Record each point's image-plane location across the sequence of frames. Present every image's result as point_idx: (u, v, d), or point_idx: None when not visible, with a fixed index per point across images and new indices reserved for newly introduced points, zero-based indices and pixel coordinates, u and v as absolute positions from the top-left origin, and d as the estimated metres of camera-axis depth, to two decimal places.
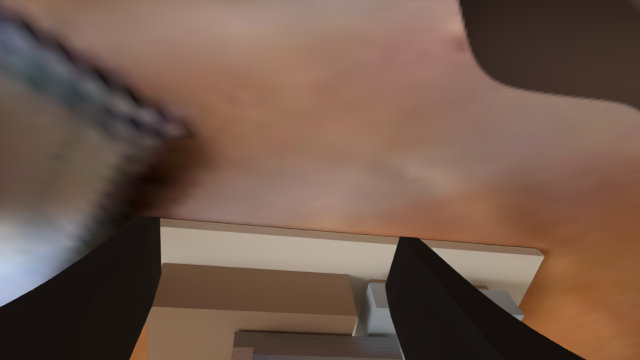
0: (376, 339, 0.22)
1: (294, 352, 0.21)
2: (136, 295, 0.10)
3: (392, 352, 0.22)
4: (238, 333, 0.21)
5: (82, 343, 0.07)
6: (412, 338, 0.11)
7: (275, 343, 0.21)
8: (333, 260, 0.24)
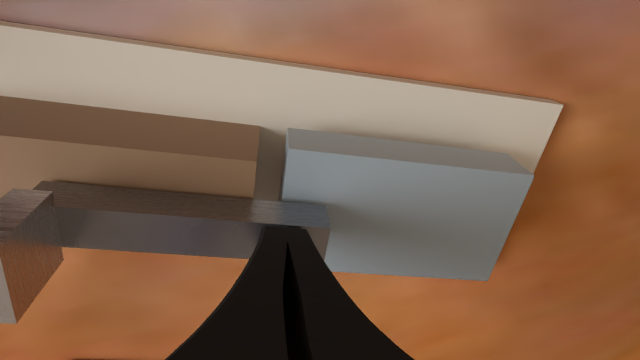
0: (292, 205, 0.13)
1: (137, 209, 0.12)
2: None
3: (314, 220, 0.13)
4: (47, 182, 0.12)
5: None
6: None
7: (108, 198, 0.12)
8: (234, 98, 0.15)
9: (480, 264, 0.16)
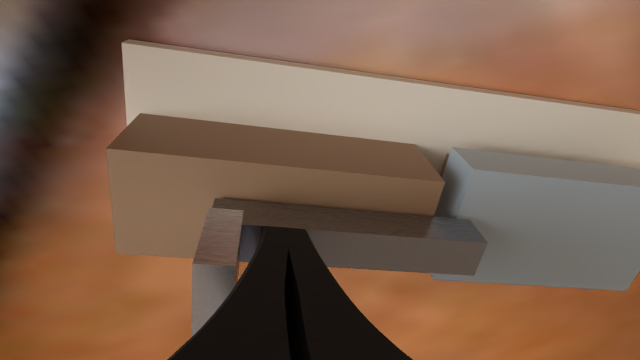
0: (440, 220, 0.14)
1: (312, 226, 0.12)
2: None
3: (469, 234, 0.13)
4: (220, 200, 0.13)
5: None
6: None
7: (281, 215, 0.13)
8: (396, 118, 0.16)
9: (623, 275, 0.17)
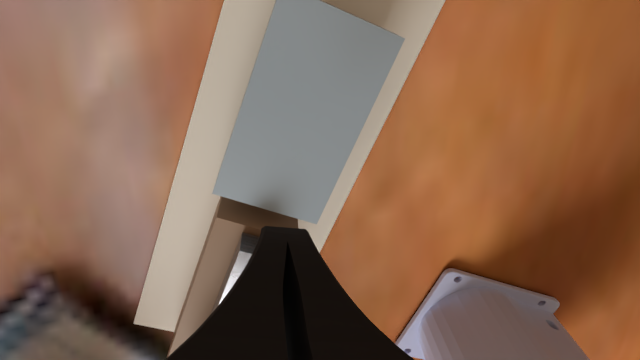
0: (234, 254, 0.19)
1: None
2: None
3: (236, 254, 0.18)
4: None
5: None
6: None
7: None
8: (200, 193, 0.21)
9: (378, 46, 0.15)
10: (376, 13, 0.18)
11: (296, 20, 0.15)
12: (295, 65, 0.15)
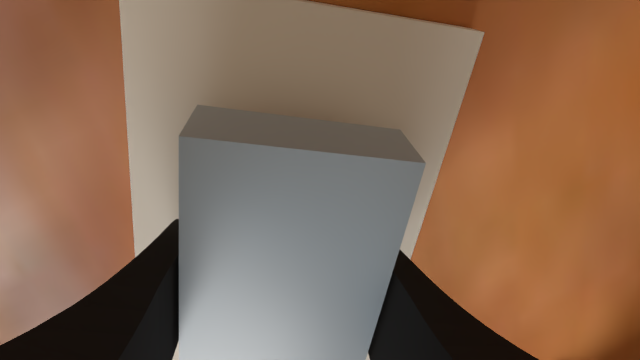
0: None
1: None
2: None
3: None
4: None
5: (143, 345, 0.07)
6: (375, 336, 0.11)
7: None
8: None
9: (381, 185, 0.09)
10: (369, 96, 0.11)
11: (224, 183, 0.08)
12: (245, 245, 0.09)
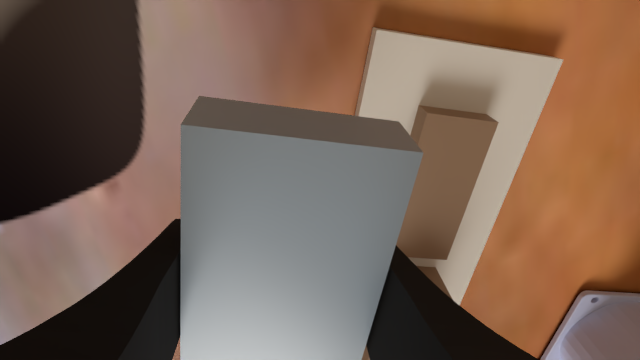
0: None
1: None
2: (179, 297, 0.10)
3: None
4: None
5: (143, 345, 0.07)
6: (375, 336, 0.11)
7: None
8: None
9: (379, 174, 0.09)
10: (495, 95, 0.19)
11: (225, 172, 0.08)
12: (246, 234, 0.09)
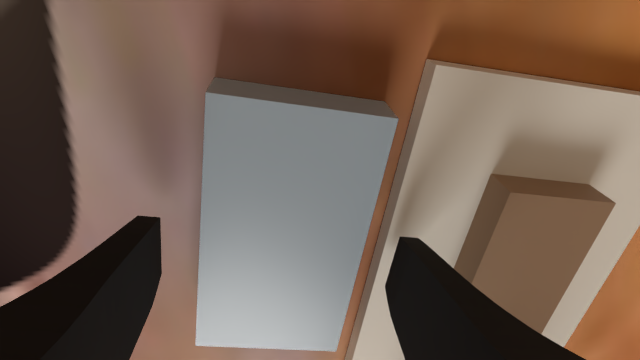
0: None
1: None
2: (136, 295, 0.10)
3: None
4: None
5: (82, 343, 0.07)
6: (412, 338, 0.11)
7: None
8: None
9: (363, 136, 0.11)
10: (604, 158, 0.13)
11: (240, 132, 0.10)
12: (255, 185, 0.11)
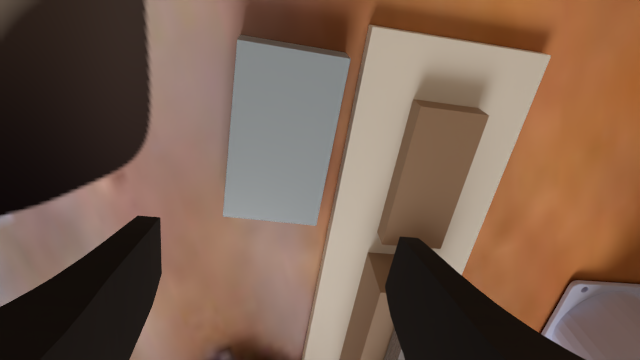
0: None
1: None
2: (136, 295, 0.10)
3: None
4: None
5: (82, 343, 0.07)
6: (412, 338, 0.11)
7: None
8: (347, 265, 0.24)
9: (329, 69, 0.18)
10: (486, 90, 0.20)
11: (256, 65, 0.18)
12: (264, 100, 0.18)
